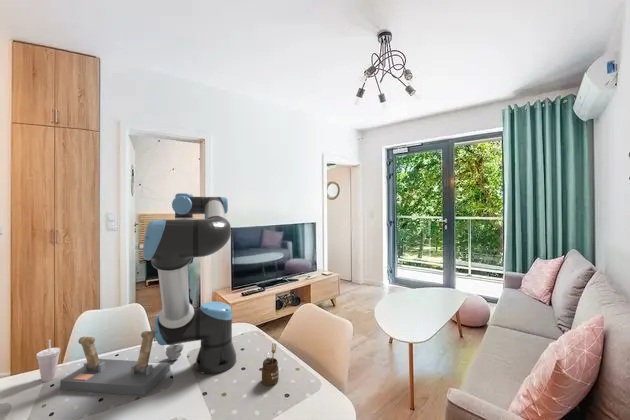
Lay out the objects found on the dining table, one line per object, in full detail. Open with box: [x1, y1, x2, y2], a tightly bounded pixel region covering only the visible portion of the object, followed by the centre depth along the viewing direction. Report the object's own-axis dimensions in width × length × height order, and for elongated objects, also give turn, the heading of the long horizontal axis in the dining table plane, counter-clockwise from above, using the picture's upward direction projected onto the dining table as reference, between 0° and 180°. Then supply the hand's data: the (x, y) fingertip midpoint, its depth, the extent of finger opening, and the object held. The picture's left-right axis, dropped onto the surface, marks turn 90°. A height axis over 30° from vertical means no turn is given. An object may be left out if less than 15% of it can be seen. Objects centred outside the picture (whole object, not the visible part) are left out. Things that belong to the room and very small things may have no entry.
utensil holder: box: [261, 342, 280, 386], centre depth 101 cm, size 6×6×12 cm
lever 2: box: [134, 330, 156, 373], centre depth 103 cm, size 5×2×13 cm, turn 85°
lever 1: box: [77, 336, 102, 370], centre depth 101 cm, size 5×2×13 cm, turn 84°
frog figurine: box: [165, 343, 184, 361], centre depth 115 cm, size 6×7×7 cm
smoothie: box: [35, 339, 61, 383], centre depth 102 cm, size 6×6×14 cm
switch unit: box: [59, 358, 171, 396], centre depth 102 cm, size 30×14×6 cm, turn 85°
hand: (183, 279), depth 129 cm, fingers closed
